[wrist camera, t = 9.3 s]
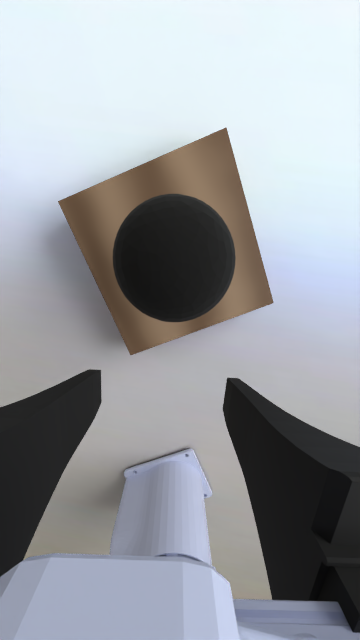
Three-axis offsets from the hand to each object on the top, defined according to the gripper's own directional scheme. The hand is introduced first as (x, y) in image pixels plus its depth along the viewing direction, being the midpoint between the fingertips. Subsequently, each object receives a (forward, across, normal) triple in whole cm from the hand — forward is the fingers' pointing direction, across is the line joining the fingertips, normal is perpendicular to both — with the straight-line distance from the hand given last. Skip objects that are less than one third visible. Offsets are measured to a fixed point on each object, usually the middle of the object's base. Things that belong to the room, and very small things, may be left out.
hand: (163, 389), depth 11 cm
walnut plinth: (+10, 0, -8) cm, 13 cm away
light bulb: (+8, 0, -7) cm, 10 cm away
